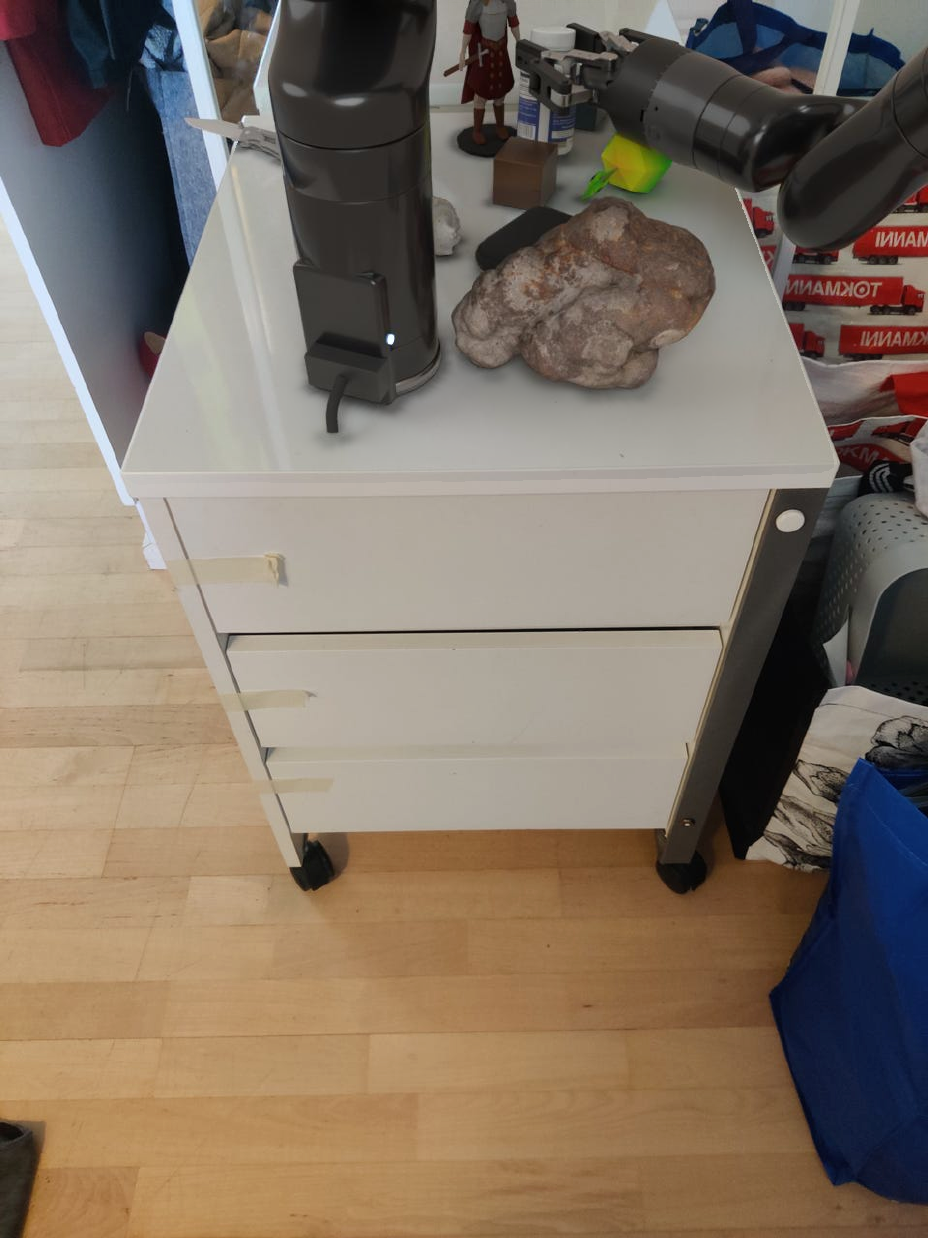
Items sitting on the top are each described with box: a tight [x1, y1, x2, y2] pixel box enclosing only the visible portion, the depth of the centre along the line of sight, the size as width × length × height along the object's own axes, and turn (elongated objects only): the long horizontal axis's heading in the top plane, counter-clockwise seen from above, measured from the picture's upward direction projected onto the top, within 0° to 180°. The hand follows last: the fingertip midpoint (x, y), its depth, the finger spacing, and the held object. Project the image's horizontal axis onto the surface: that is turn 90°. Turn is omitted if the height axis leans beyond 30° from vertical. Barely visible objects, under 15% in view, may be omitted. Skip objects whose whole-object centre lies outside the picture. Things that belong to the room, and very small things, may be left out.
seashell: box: [433, 195, 462, 256], centre depth 77 cm, size 4×16×4 cm, turn 37°
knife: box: [183, 117, 280, 160], centre depth 87 cm, size 2×18×3 cm
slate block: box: [574, 64, 608, 132], centre depth 90 cm, size 4×4×4 cm
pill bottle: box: [516, 26, 581, 156], centre depth 83 cm, size 5×5×10 cm
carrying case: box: [474, 205, 573, 272], centre depth 71 cm, size 11×3×15 cm
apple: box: [581, 130, 673, 201], centre depth 80 cm, size 7×6×9 cm
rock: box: [450, 195, 717, 391], centre depth 62 cm, size 18×12×10 cm
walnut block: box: [492, 136, 559, 211], centre depth 80 cm, size 4×4×4 cm
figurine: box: [442, 0, 522, 158], centre depth 82 cm, size 7×7×15 cm
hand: (543, 43), depth 81 cm, fingers closed on pill bottle, 5 cm apart
